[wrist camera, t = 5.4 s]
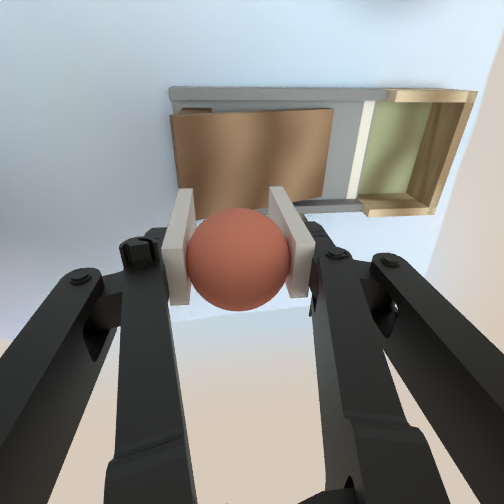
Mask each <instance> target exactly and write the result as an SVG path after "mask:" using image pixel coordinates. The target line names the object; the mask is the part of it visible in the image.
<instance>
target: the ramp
mask: <svg viewBox="0 0 504 504" xmlns="http://www.w3.org/2000/svg"><path fill="white" fill-rule="evenodd" d="M333 114H334V109H332V108H310V109H289V110H267V111H245V112H224V113H212V108H182V110H181V111H180V112H179V113H178V115H169V116H170V124H171V132H172V140H173V149H174V157H175V165H176V173H177V181H178V189H186V188H193V197H194V208H195V219H196V220H201V219H206V218H208V217H209V216H211V215H212V214H214V213H216V212H219V211H221V210H225V209H229V208H247V209H251V210H254V209H260V208H265V207H268V206H269V187H274V186H283V188H284V190H285V192H286V193H287V195H288V197H289V198H290V200H291V202H297V201H302V200H307V199H313V198H318V197H322V192H323V185H324V178H325V171H326V164H327V157H328V150H329V143H330V136H331V129H332V122H333Z"/></svg>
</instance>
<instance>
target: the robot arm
mask: <svg viewBox="0 0 504 504" xmlns="http://www.w3.org/2000/svg"><path fill="white" fill-rule="evenodd" d="M268 218H270V219H271V220H272V221H273V222H274V223H275V224H276V225H277V226H278V227H279V229H280V230H281V232H282V233H283V235H284V237H285V239H286V241H287V244H288V248H289V255H290V265H289V271H288V275H287V278H286V280H285V283H286V286H287V289H288V292H289V295H290V298H303V297H308V291H309V287H310V290H311V292H312V298H311V305H310V311H309V316H310V317H311V316H312V321H313V334H314V345H315V355H316V366H317V379H318V389H319V401H320V413H321V423H322V435H323V447H324V457H325V470H326V484H325V491H322V492H320V493H318V494H316V495H314V496H312V497H310V498H308V499H306V500H304V501H302V502H300V503H298V504H450V501H449V498H448V496H447V493H446V490H445V488H444V485H443V482H442V480H441V477H440V474H439V471H438V469H437V466H436V463H435V460H434V458H433V455H432V452H431V450H430V447H429V445H428V442H427V440H426V438H425V436H424V434H423V433H422V432H421V431H420V430H419V428H417V427H413V426H410V425H409V423H408V422H407V420H406V418H405V415H404V412H403V409H402V406H401V403H400V400H399V397H398V394H397V391H396V388H395V385H394V382H393V379H392V376H391V373H390V370H389V367H388V364H387V361H386V358H385V355H384V352H383V350H384V351H385V353H386V355H387V356H388V357H389V359H390V361H391V363H392V364H393V366H394V367H395V369H396V370H397V372H398V374H399V375H400V377H401V378H402V380H403V382H404V383H405V385H406V386H407V388H408V390H409V391H410V393H411V394H412V396H413V397H414V399H415V401H416V402H417V404H418V405H419V407H420V409H421V410H422V412H423V413H424V415H425V416H426V418H427V420H428V421H429V423H430V424H431V426H432V427H433V429H434V431H435V432H436V434H437V435H438V437H439V438H440V440H441V442H442V443H443V445H444V447H445V448H446V450H447V451H448V453H449V454H450V456H451V458H452V459H453V461H454V462H455V464H456V466H457V467H458V469H459V470H460V472H461V473H462V474H463V476H464V478H465V480H466V481H467V483H468V485H469V486H470V488H471V489H472V491H473V492H474V494H475V496H476V497H477V499H478V500H479V502H480V504H504V354H503V353H502V352H501V351H500V350H499V349H498V348H497V347H496V346H495V345H493V344H492V343H491V342H490V341H489V340H488V339H487V338H486V337H485V336H484V335H483V334H482V333H481V332H480V331H479V330H478V329H477V328H476V327H475V326H474V325H473V324H472V323H471V322H469V321H468V320H467V319H466V318H465V317H464V316H463V315H462V314H461V313H460V312H459V311H458V310H457V309H456V308H455V307H454V306H453V305H452V304H451V303H450V302H448V300H446V299H445V298H444V297H443V296H442V295H441V294H440V293H439V292H438V291H437V290H436V289H435V288H434V287H433V286H432V285H431V284H430V283H429V282H428V281H427V280H426V279H425V278H424V277H423V276H421V275H420V274H419V273H418V272H417V271H416V270H415V269H414V268H413V267H412V266H411V265H410V264H409V263H408V262H407V261H406V260H404V259H403V258H402V257H399V256H397V255H395V254H391V253H378V254H375V255H374V256H373V258H372V262H365V261H358V260H353V258H352V256H351V254H350V253H349V252H348V251H347V250H345V249H342V248H340V247H336V246H335V245H334V243H333V242H332V240H331V239H330V237H329V236H328V234H327V233H326V232H325V230H324V229H323V227H322V226H321V225H319V224H318V223H316V222H314V221H313V222H303V220H302V219H301V217H300V215H299V214H298V212H297V210H296V209H295V207H294V205H293V203H292V202H291V200H290V198H289V197H288V195H287V193H286V192H285V190H284V188H283V186H274V187H269V206H268ZM195 230H196V219H195V208H194V197H193V188H186V189H179V190H178V193H177V197H176V200H175V203H174V207H173V210H172V214H171V217H170V220H169V224H168V227H164V228H151V229H150V230H149V231H148V232H146V233H145V236H143V237H134V238H130V239H128V240H126V241H124V242H123V243H121V244H120V246H119V250H120V254H121V258H122V262H123V266H124V270H123V271H121V272H118V273H115V274H110V275H106V276H102V275H101V272H100V271H99V270H98V269H95V268H80V269H77V270H73V271H71V272H70V273H68V274H66V275H65V276H64V277H62V278H61V279H60V281H59V282H58V283H57V285H56V286H55V287H54V289H53V290H52V291H51V292H50V294H49V295H48V296H47V298H46V299H45V300H44V302H43V303H42V304H41V306H40V307H39V308H38V309H37V311H36V312H35V313H34V315H33V316H32V317H31V319H30V320H29V321H28V322H27V324H26V325H25V326H24V328H23V329H22V330H21V332H20V333H19V334H18V336H17V337H16V338H15V339H14V341H13V342H12V343H11V345H10V346H9V347H8V349H7V350H6V351H5V353H4V354H3V355H2V356H1V358H0V504H47V503H48V500H49V498H50V495H51V493H52V490H53V488H54V485H55V483H56V480H57V478H58V475H59V473H60V470H61V468H62V465H63V463H64V460H65V458H66V455H67V453H68V450H69V448H70V445H71V443H72V440H73V438H74V435H75V433H76V431H77V428H78V426H79V423H80V420H81V418H82V416H83V413H84V410H85V408H86V405H87V403H88V401H89V398H90V396H91V393H92V391H93V388H94V385H95V383H96V381H97V378H98V375H99V373H100V371H101V368H102V366H103V363H104V361H105V358H106V355H107V353H108V351H109V348H110V346H111V343H112V341H113V338H114V336H115V333H116V331H117V327H119V326H121V333H120V355H119V374H118V376H119V377H118V395H117V396H118V397H117V416H116V437H115V454H114V458H113V459H112V460H111V461H110V462H109V464H108V467H107V470H106V478H105V488H104V504H198V503H197V497H196V490H195V484H194V477H193V470H192V464H191V457H190V450H189V444H188V436H187V430H186V423H185V416H184V409H183V403H182V396H181V390H180V382H179V375H178V369H177V362H176V355H175V349H174V342H173V335H172V328H171V321H170V315H169V308H168V299H170V305H171V306H173V305H189V301H190V291H191V280H190V278H189V275H188V270H187V248H188V244H189V241H190V239H191V237H192V235H193V233H194V232H195ZM395 303H396V305H397V307H398V310H397V308H396V307H395ZM382 348H383V349H382Z"/></svg>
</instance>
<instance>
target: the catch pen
mask: <svg viewBox="0 0 504 504" xmlns="http://www.w3.org/2000/svg"><path fill="white" fill-rule="evenodd" d="M376 89H385V90H389V91H388V96H387V100H386V101H377V104H376V109H375V114H374V119H373V124H372V128H371V133H370V138H369V143H368V148H367V153H366V157H365V162H364V167H363V172H362V177H361V182H360V186H359V191H358V196H357V199H358V200H359V201H360V202H362V203H363V209H362V212H363V213H364V214H365V215H366V216H367V217H388V216H414V215H434V213H435V210H436V207H437V205H438V202H439V199H440V196H441V193H442V191H443V188H444V185H445V182H446V180H447V177H448V174H449V171H450V169H451V166H452V163H453V160H454V157H455V155H456V152H457V149H458V146H459V144H460V141H461V138H462V135H463V132H464V130H465V127H466V124H467V121H468V119H469V116H470V113H471V110H472V107H473V105H474V102H475V99H476V96H477V94H478V91H466V90H454V89H441V88H376Z"/></svg>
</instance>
